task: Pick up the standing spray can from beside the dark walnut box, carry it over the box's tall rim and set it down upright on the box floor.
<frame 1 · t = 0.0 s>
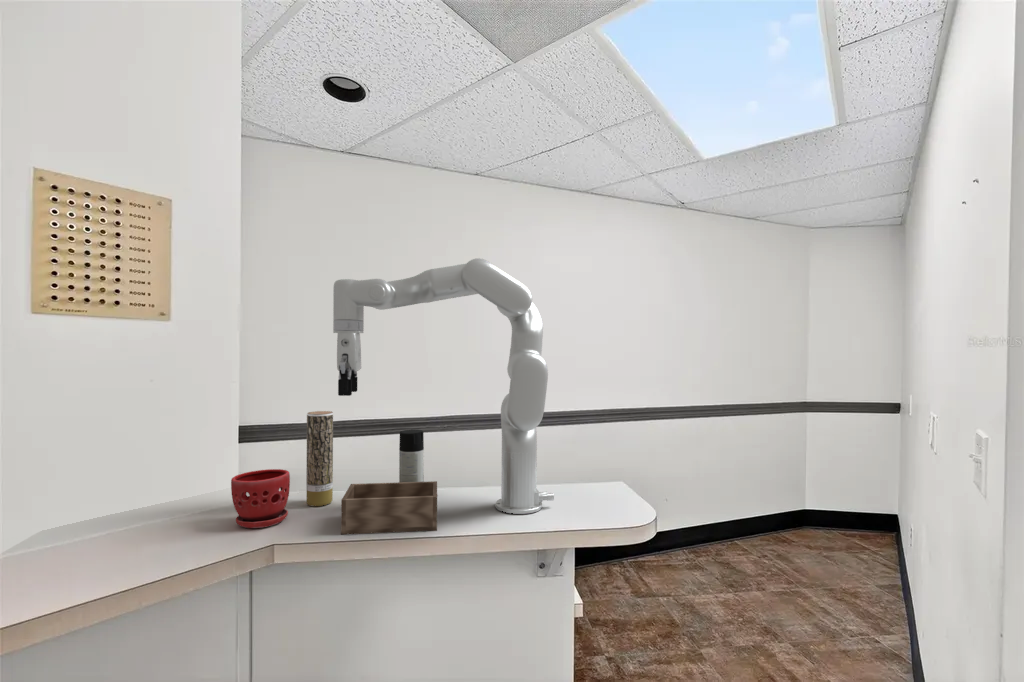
hand: (348, 393, 138), 31 cm above the table, tool pointing down, fingers open, 9 cm apart
paper tube: (319, 504, 147), on the table
plant pot: (260, 523, 132), on the table
spray can: (411, 504, 147), on the table
walnut box: (392, 522, 132), on the table
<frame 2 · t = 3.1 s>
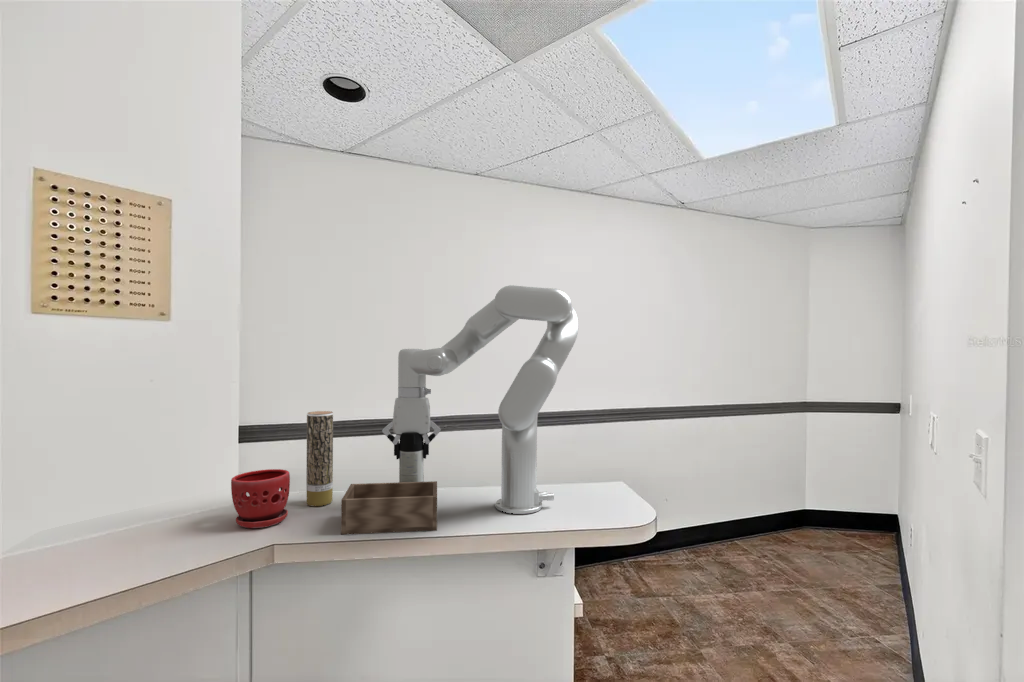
hand: (411, 457, 147), 13 cm above the table, tool pointing down, fingers closed on spray can, 6 cm apart
spray can: (411, 504, 147), on the table, touching gripper
everything else where it was.
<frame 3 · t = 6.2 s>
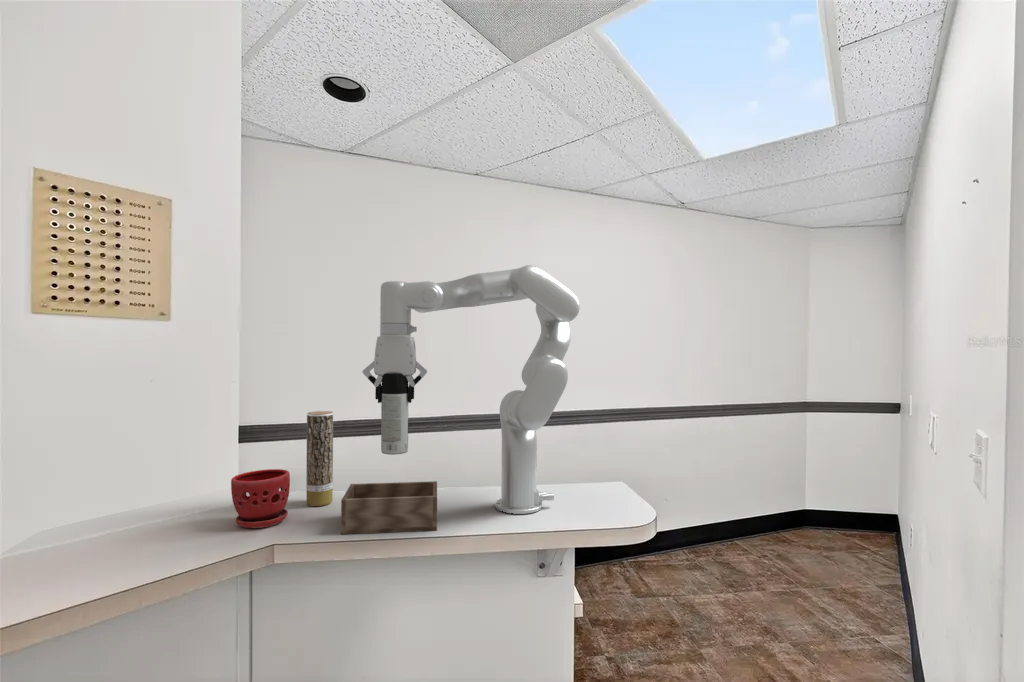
hand: (394, 401, 134), 30 cm above the table, tool pointing down, fingers closed on spray can, 6 cm apart
spray can: (394, 453, 134), point 17 cm above the table, touching gripper
everything else where it was.
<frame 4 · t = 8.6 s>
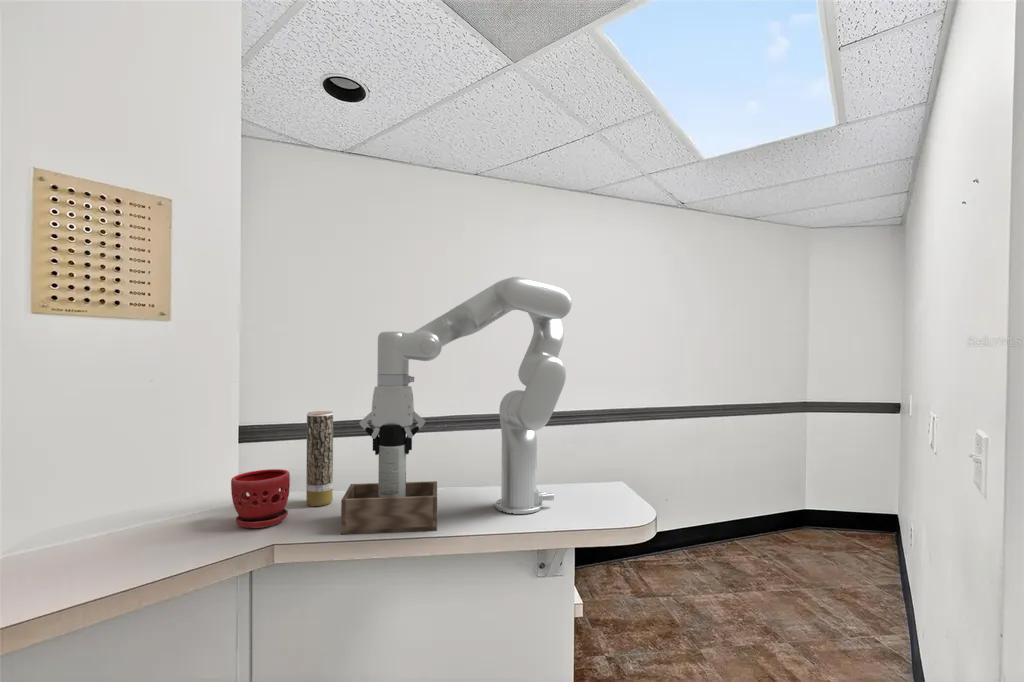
hand: (392, 452, 132), 17 cm above the table, tool pointing down, fingers closed on spray can, 6 cm apart
spray can: (392, 505, 132), point 4 cm above the table, touching gripper
everything else where it was.
when the fingers open (16 cm above the table, at t = 9.6 s): spray can drops 2 cm, resting on walnut box.
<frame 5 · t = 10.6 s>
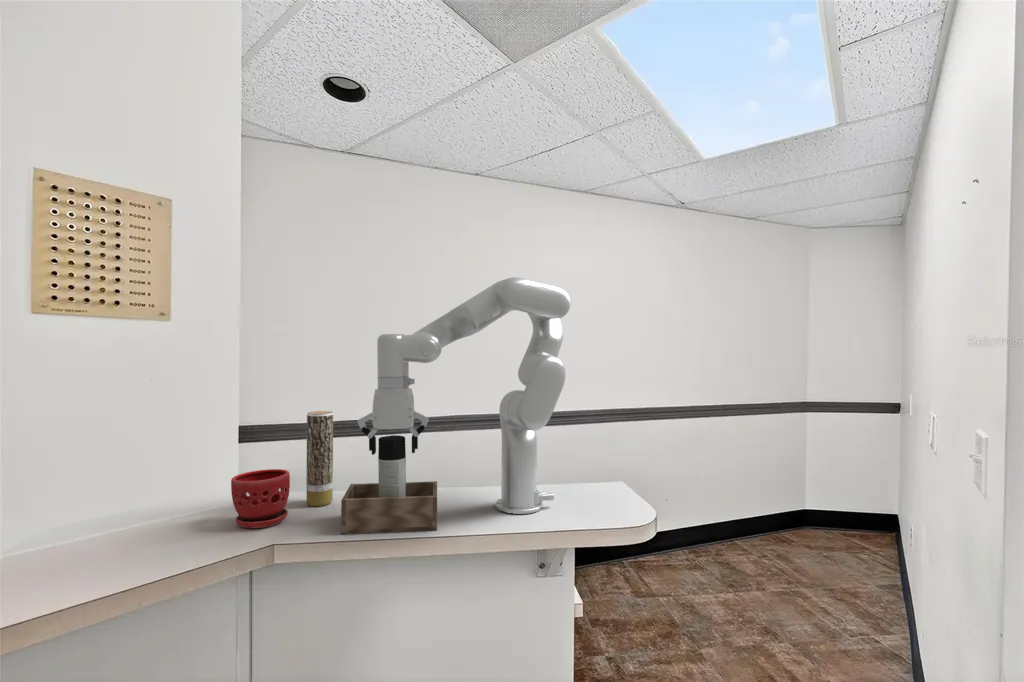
hand: (393, 452, 132), 17 cm above the table, tool pointing down, fingers open, 9 cm apart
spray can: (392, 518, 132), point 1 cm above the table, touching walnut box
everything else where it was.
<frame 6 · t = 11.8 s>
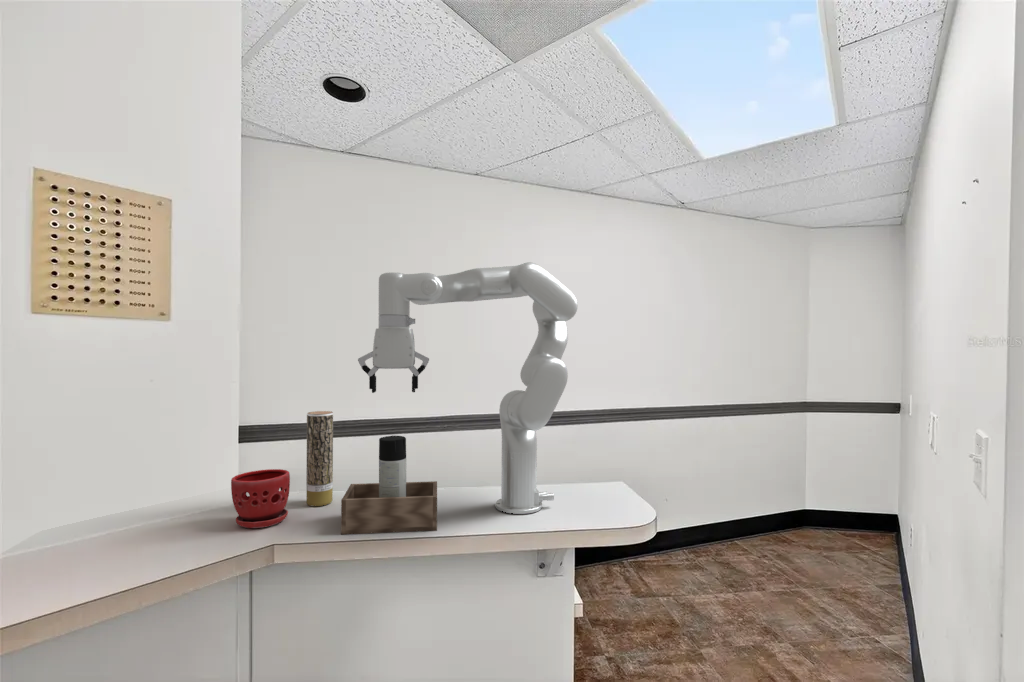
hand: (393, 392, 132), 32 cm above the table, tool pointing down, fingers open, 9 cm apart
nothing on the table moved.
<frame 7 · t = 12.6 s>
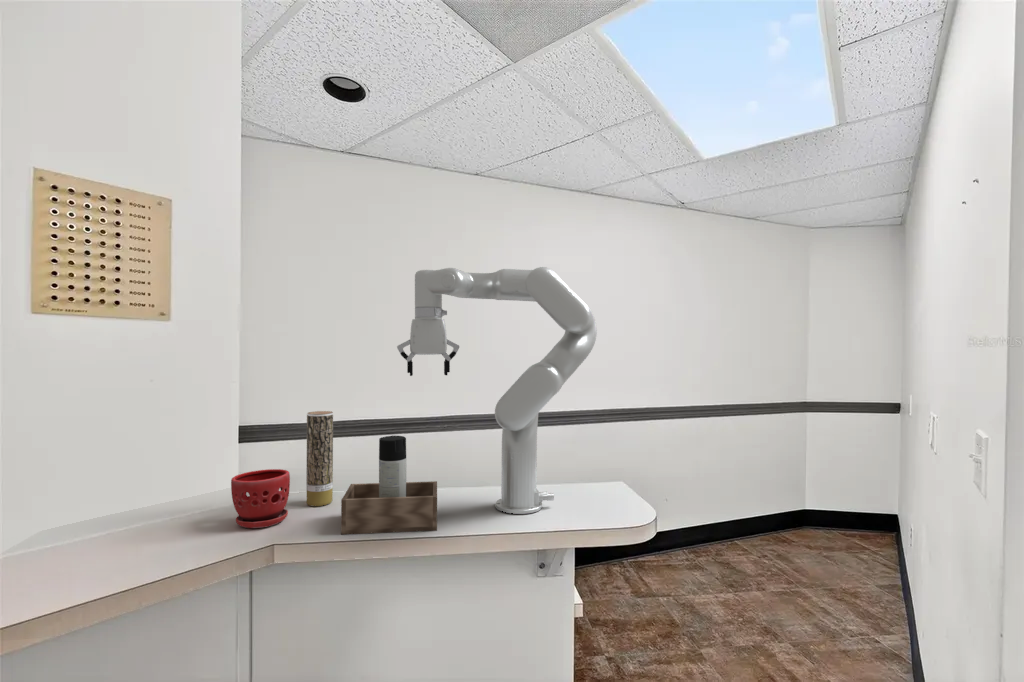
hand: (428, 375, 150), 35 cm above the table, tool pointing down, fingers open, 9 cm apart
nothing on the table moved.
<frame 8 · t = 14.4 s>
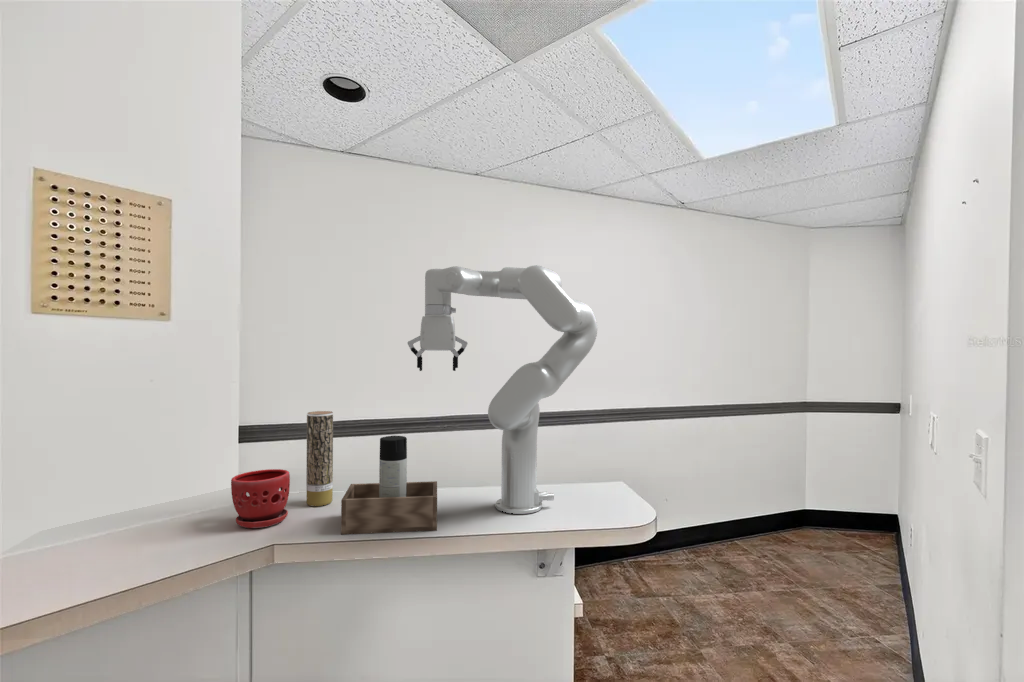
hand: (437, 370, 155), 36 cm above the table, tool pointing down, fingers open, 9 cm apart
nothing on the table moved.
at the end: spray can inside the target area on the walnut box (0.1 cm from its centre), point 0.8 cm above the walnut box's base; spray can tilted 0°; the gripper is holding nothing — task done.
